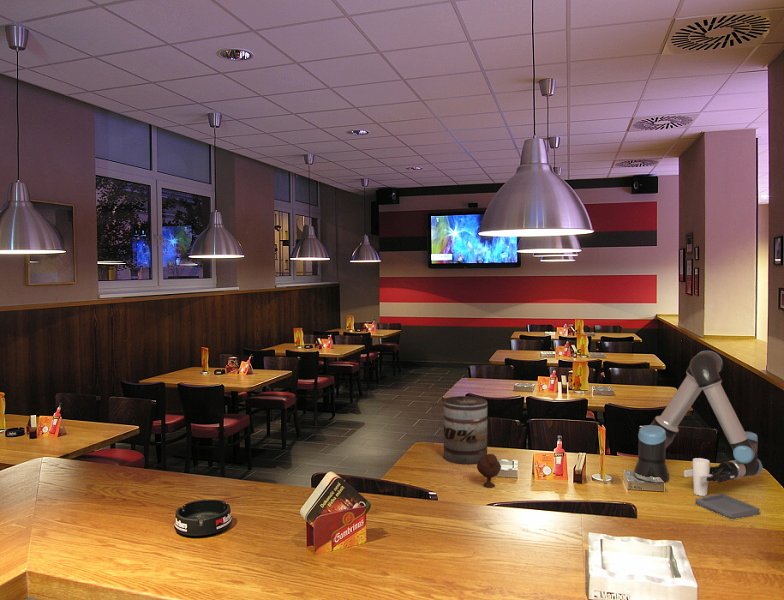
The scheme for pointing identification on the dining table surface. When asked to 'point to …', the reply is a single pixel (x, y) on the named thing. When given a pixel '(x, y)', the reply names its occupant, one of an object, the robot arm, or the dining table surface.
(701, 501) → the serving tray
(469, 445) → the barrel
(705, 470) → the drinking glass
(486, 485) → the ice cream bowl
